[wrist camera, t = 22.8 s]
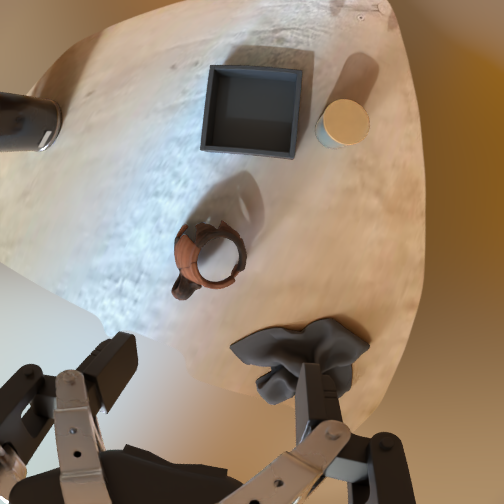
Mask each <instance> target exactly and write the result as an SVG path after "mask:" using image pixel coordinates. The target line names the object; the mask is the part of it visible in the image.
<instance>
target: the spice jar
mask: <svg viewBox="0 0 504 504" xmlns="http://www.w3.org/2000/svg"><path fill="white" fill-rule="evenodd" d="M369 127H370V121H369V117H368V114H367V112H366V111H365V109H364V108H363V107H362V106H361V105H360V104H358V103H357V102H355V101H352V100H349V99H339V100H336V101H334V102H332V103H331V104H330V105H329V106H328V107H327V108H326V110H325V112H324V114H323V115H322V116H321V117H320V119H319V120H318V121H317V123H316V126H315V134H316V137H317V139H318V141H319V142H320V143H321V144H322V145H323V146H325V147H327V148H330V149H339V148H342V147H345V146H348V145H353V144H356V143H359V142H360V141H362V140H363V139H364V138H365V137H366V136H367V134H368V132H369Z"/></svg>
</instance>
